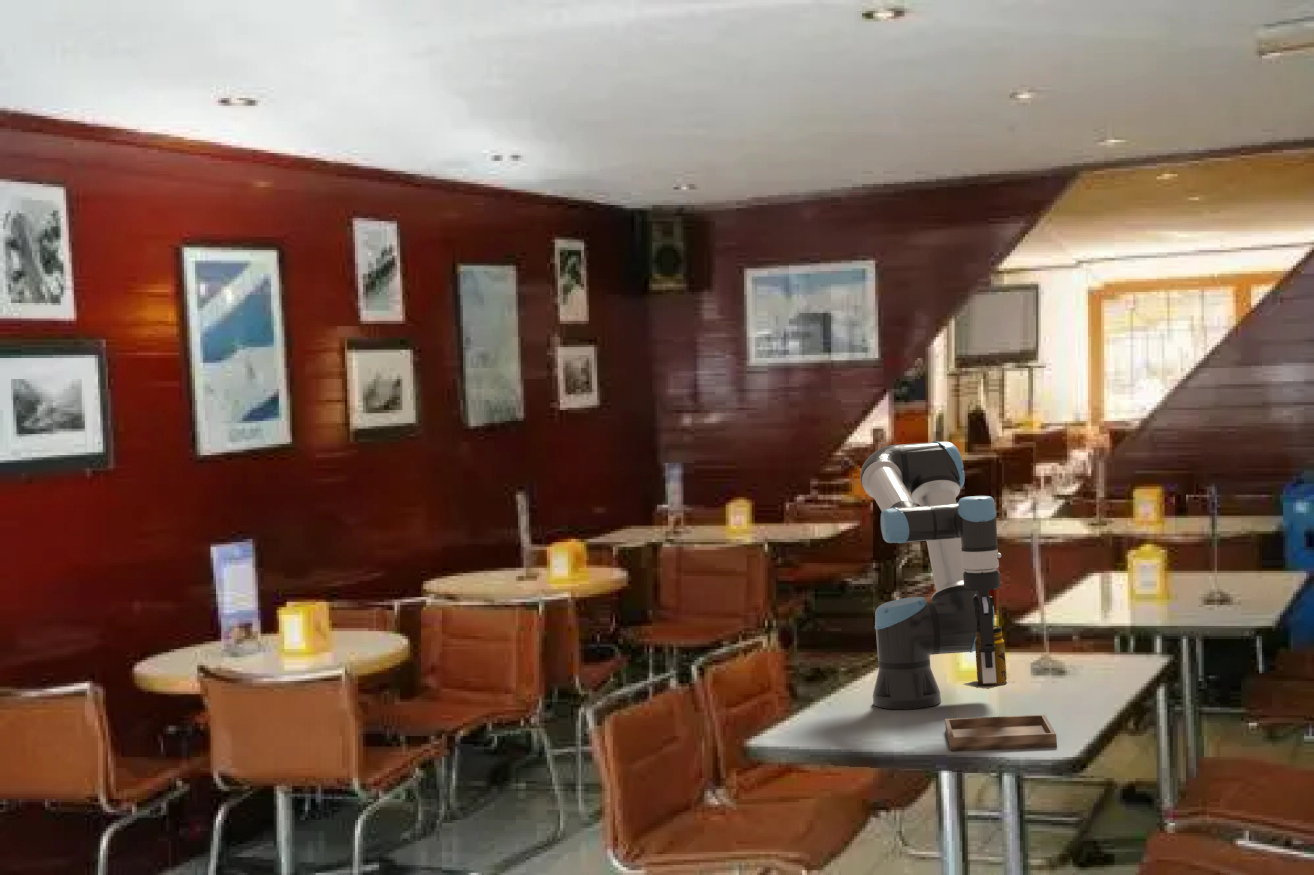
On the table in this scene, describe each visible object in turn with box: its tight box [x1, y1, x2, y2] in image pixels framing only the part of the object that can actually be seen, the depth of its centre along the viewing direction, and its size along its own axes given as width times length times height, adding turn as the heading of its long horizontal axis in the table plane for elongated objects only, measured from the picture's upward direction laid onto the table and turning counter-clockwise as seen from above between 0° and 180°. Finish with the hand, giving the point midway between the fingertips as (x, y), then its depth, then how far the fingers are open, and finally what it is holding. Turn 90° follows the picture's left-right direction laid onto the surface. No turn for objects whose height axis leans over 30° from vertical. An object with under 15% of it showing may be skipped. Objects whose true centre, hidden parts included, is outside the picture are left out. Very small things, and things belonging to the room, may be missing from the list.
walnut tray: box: [944, 714, 1058, 752], centre depth 295 cm, size 20×18×2 cm
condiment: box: [962, 624, 1016, 690], centre depth 312 cm, size 7×8×12 cm
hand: (988, 679), depth 313 cm, fingers closed on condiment, 6 cm apart
